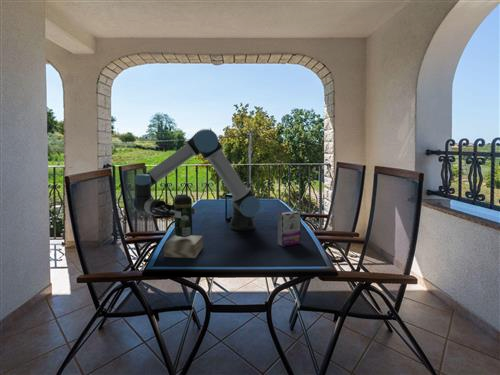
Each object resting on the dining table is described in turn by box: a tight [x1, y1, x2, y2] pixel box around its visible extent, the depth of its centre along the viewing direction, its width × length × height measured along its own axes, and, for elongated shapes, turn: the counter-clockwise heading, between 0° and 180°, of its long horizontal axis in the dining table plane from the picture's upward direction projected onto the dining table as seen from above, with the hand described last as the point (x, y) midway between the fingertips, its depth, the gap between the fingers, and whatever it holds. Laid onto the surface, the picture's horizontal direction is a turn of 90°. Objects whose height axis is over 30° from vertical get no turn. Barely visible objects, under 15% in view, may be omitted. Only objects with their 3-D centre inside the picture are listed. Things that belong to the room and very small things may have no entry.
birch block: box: [163, 234, 204, 259], centre depth 143 cm, size 14×14×6 cm
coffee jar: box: [173, 194, 193, 237], centre depth 141 cm, size 10×8×19 cm
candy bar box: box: [277, 210, 302, 248], centre depth 155 cm, size 11×5×16 cm, turn 117°
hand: (188, 213), depth 139 cm, fingers closed on coffee jar, 8 cm apart
